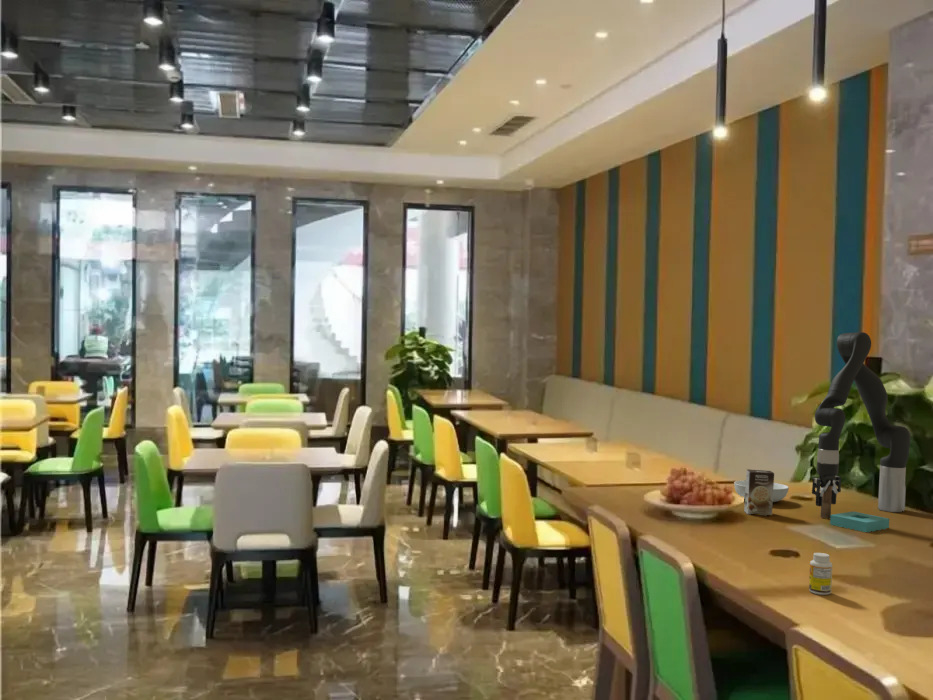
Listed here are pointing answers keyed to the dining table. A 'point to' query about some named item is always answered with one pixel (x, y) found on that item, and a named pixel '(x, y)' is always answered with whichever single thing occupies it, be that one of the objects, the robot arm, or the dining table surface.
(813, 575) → the supplement bottle
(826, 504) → the peg
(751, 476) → the coffee box
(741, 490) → the serving bowl
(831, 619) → the dining table surface
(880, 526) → the hole block
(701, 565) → the dining table surface
